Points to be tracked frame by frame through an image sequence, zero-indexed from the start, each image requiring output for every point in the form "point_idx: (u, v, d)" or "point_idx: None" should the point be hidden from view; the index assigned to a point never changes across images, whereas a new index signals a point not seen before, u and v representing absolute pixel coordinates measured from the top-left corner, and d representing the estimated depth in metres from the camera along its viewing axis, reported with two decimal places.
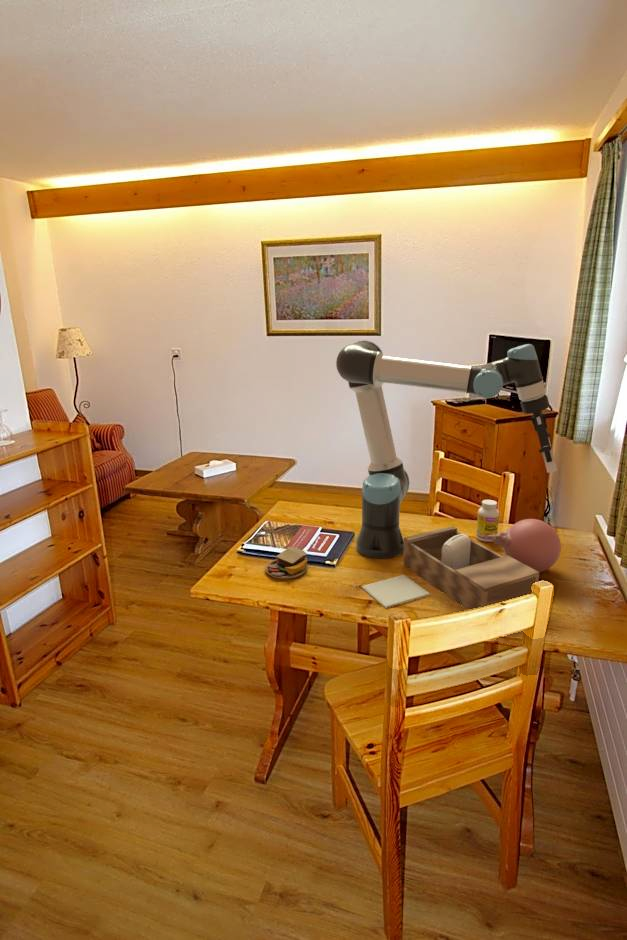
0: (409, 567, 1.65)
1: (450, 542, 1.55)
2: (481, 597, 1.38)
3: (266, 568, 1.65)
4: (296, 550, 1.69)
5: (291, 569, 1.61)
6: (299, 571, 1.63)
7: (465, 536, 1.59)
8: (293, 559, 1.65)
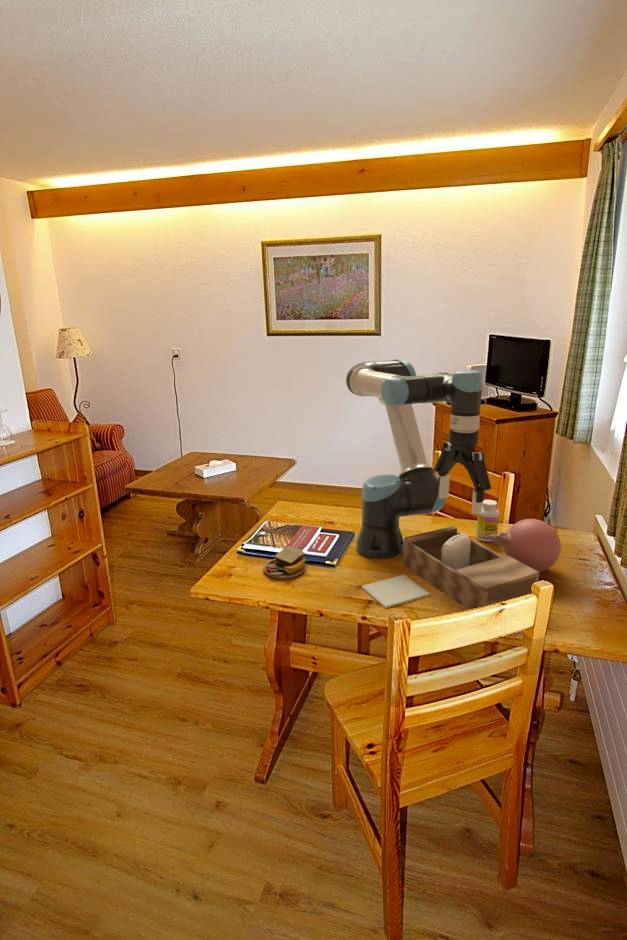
0: (409, 567, 1.65)
1: (450, 542, 1.55)
2: (481, 597, 1.38)
3: (264, 568, 1.66)
4: (294, 549, 1.70)
5: (290, 568, 1.61)
6: (298, 570, 1.63)
7: (465, 536, 1.59)
8: (291, 558, 1.65)
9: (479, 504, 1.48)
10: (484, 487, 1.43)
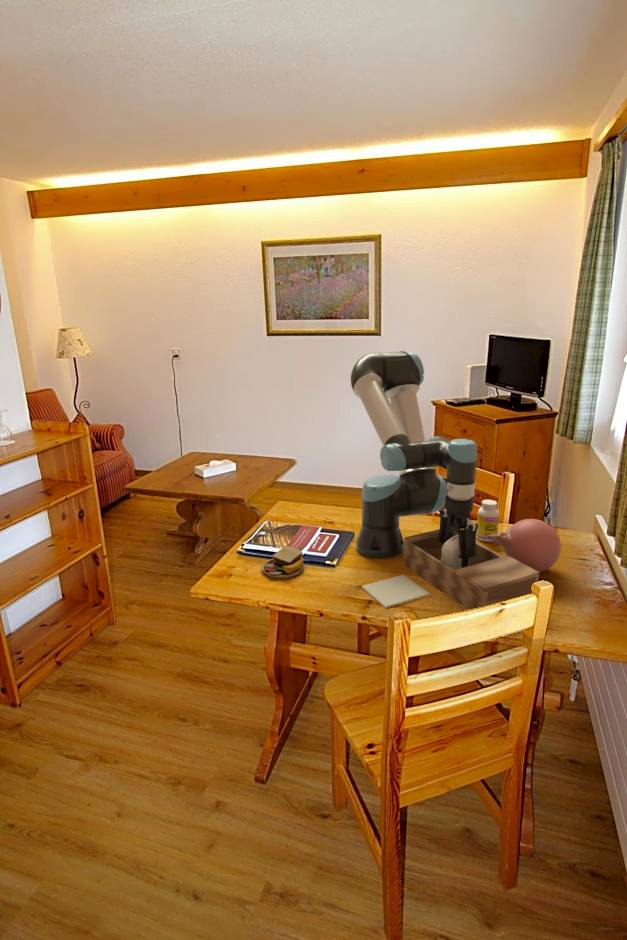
0: (409, 567, 1.65)
1: (450, 542, 1.55)
2: (481, 597, 1.38)
3: (263, 568, 1.66)
4: (292, 549, 1.70)
5: (289, 568, 1.61)
6: (296, 570, 1.64)
7: None
8: (289, 558, 1.66)
9: None
10: (468, 555, 1.52)
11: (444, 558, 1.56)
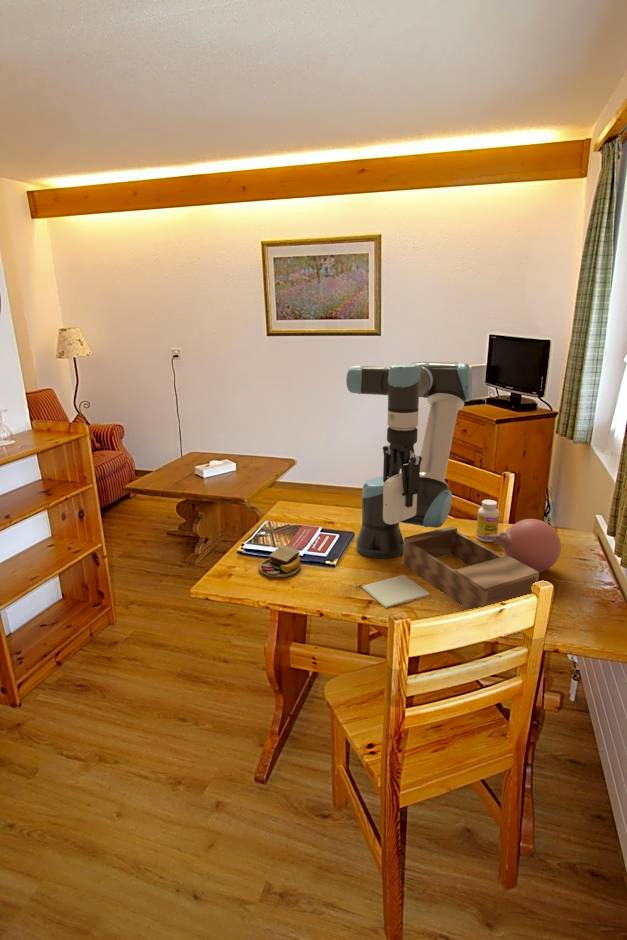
0: (409, 567, 1.65)
1: (392, 479, 1.41)
2: (481, 597, 1.38)
3: (260, 567, 1.66)
4: (288, 548, 1.70)
5: (286, 567, 1.62)
6: (294, 569, 1.64)
7: None
8: (286, 557, 1.66)
9: (409, 508, 1.43)
10: (412, 491, 1.39)
11: (385, 497, 1.42)
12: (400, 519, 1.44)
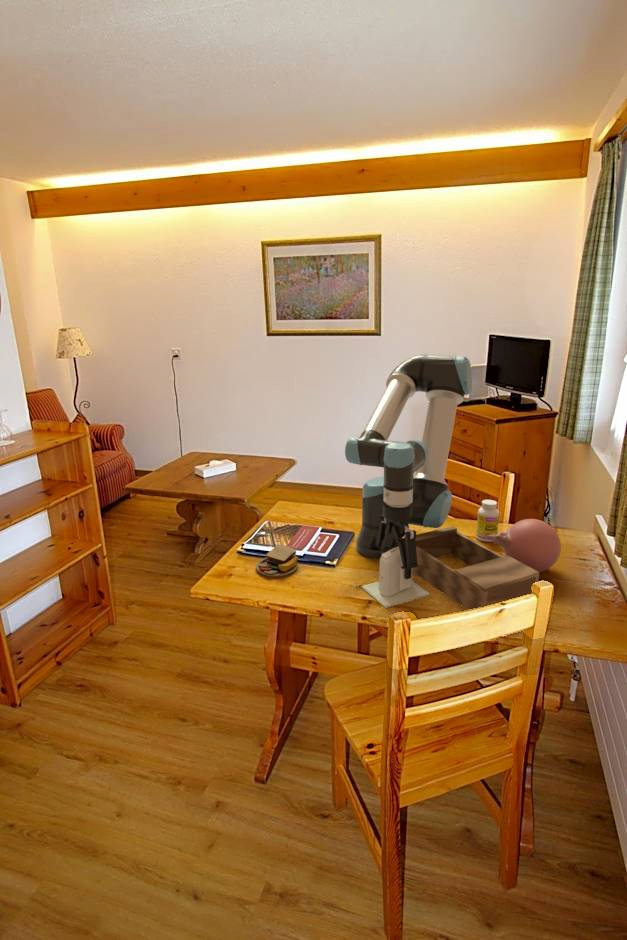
0: None
1: (388, 554, 1.47)
2: (481, 597, 1.38)
3: (257, 567, 1.66)
4: (285, 547, 1.71)
5: (284, 566, 1.62)
6: (291, 568, 1.65)
7: None
8: (283, 556, 1.67)
9: (407, 580, 1.47)
10: (410, 565, 1.43)
11: (381, 570, 1.48)
12: (395, 591, 1.50)
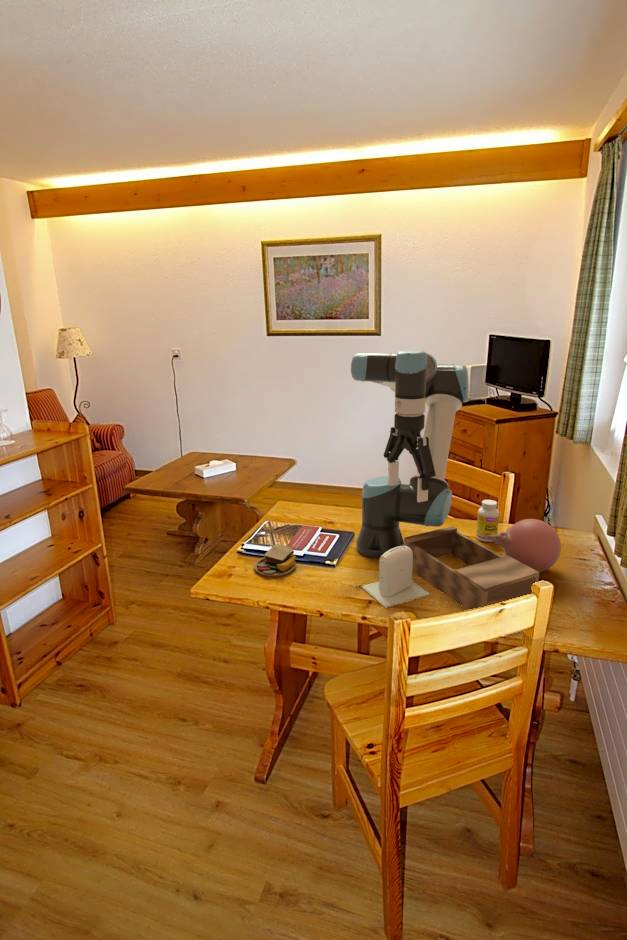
0: None
1: (387, 554, 1.47)
2: (481, 597, 1.38)
3: (255, 567, 1.66)
4: (282, 547, 1.71)
5: (283, 566, 1.63)
6: (289, 567, 1.65)
7: (406, 548, 1.50)
8: (281, 556, 1.67)
9: (425, 492, 1.40)
10: (428, 474, 1.36)
11: (381, 570, 1.48)
12: (395, 591, 1.50)
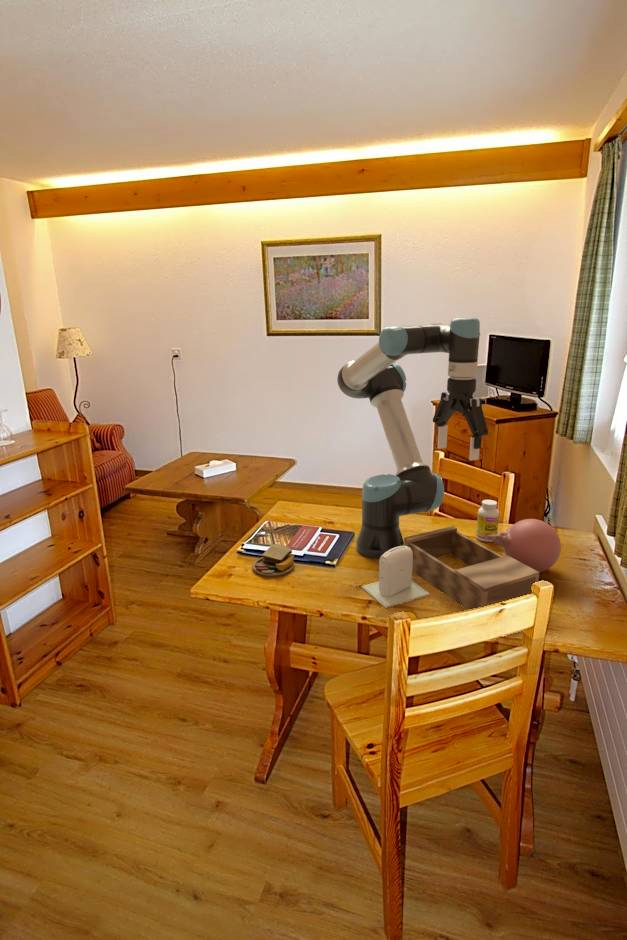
0: None
1: (387, 554, 1.47)
2: (481, 597, 1.38)
3: (254, 567, 1.66)
4: (280, 547, 1.72)
5: (281, 565, 1.63)
6: (288, 567, 1.66)
7: (406, 548, 1.50)
8: (280, 556, 1.67)
9: (476, 451, 1.50)
10: (481, 432, 1.45)
11: (381, 570, 1.48)
12: (395, 591, 1.50)
